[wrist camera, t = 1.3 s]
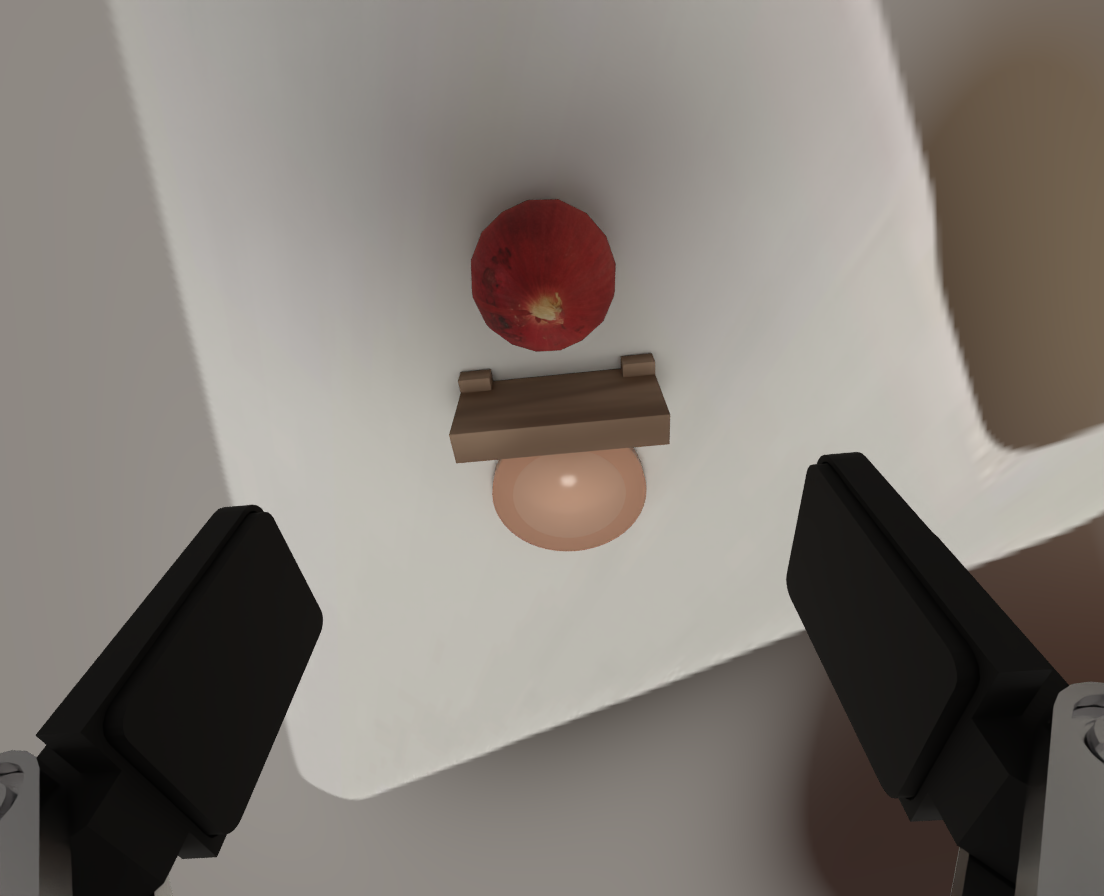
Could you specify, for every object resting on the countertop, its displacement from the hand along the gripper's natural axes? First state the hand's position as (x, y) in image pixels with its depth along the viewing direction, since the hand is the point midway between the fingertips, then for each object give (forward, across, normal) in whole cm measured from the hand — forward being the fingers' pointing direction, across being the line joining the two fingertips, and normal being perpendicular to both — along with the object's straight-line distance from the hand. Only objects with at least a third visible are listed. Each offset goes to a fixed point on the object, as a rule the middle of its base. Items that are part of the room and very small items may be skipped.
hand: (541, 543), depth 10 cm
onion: (+19, 0, -1) cm, 19 cm away
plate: (+19, 0, +13) cm, 23 cm away
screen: (+19, 0, +6) cm, 20 cm away
